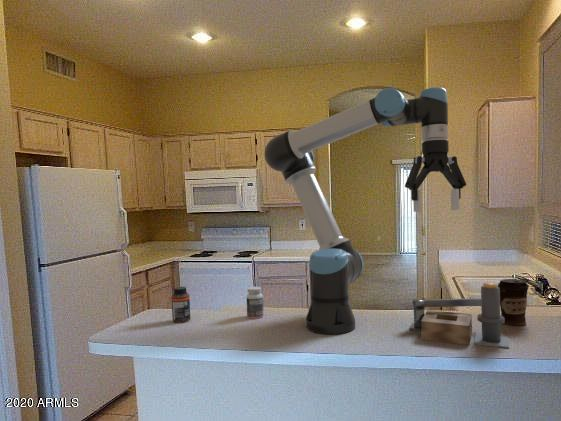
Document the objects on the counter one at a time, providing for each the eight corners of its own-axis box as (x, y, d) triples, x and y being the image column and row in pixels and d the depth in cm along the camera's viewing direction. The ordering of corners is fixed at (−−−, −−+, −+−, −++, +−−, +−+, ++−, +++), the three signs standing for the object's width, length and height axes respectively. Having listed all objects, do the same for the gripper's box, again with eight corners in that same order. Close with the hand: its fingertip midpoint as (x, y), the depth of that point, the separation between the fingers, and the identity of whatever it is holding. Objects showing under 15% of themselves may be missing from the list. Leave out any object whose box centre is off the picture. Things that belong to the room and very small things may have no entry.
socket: (421, 339, 110) (421, 320, 110) (427, 326, 121) (427, 310, 121) (469, 344, 105) (469, 325, 105) (471, 331, 115) (471, 314, 115)
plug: (477, 342, 106) (476, 285, 105) (478, 334, 111) (477, 280, 111) (505, 345, 102) (503, 287, 102) (504, 337, 108) (503, 282, 108)
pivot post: (409, 329, 118) (408, 308, 118) (412, 325, 123) (411, 304, 123) (427, 332, 116) (426, 310, 116) (429, 327, 120) (428, 306, 120)
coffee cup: (535, 328, 116) (534, 283, 116) (504, 327, 118) (502, 283, 118) (523, 319, 125) (522, 277, 125) (494, 318, 127) (493, 277, 126)
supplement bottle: (177, 318, 139) (176, 285, 139) (193, 318, 138) (192, 285, 138) (169, 323, 133) (167, 289, 133) (185, 323, 132) (184, 289, 132)
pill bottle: (248, 314, 141) (247, 286, 141) (264, 314, 140) (263, 286, 140) (245, 319, 135) (244, 289, 135) (262, 319, 135) (261, 289, 134)
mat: (474, 344, 105) (474, 342, 105) (475, 334, 112) (475, 333, 112) (509, 348, 101) (509, 346, 101) (508, 338, 108) (508, 337, 108)
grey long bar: (414, 308, 118) (414, 301, 118) (411, 305, 121) (410, 298, 121) (483, 307, 117) (483, 300, 117) (477, 304, 120) (477, 297, 120)
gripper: (406, 137, 114) (408, 212, 114) (477, 139, 121) (479, 209, 122) (391, 142, 121) (393, 212, 122) (460, 143, 128) (461, 209, 129)
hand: (436, 211), depth 122 cm, fingers open, 13 cm apart
